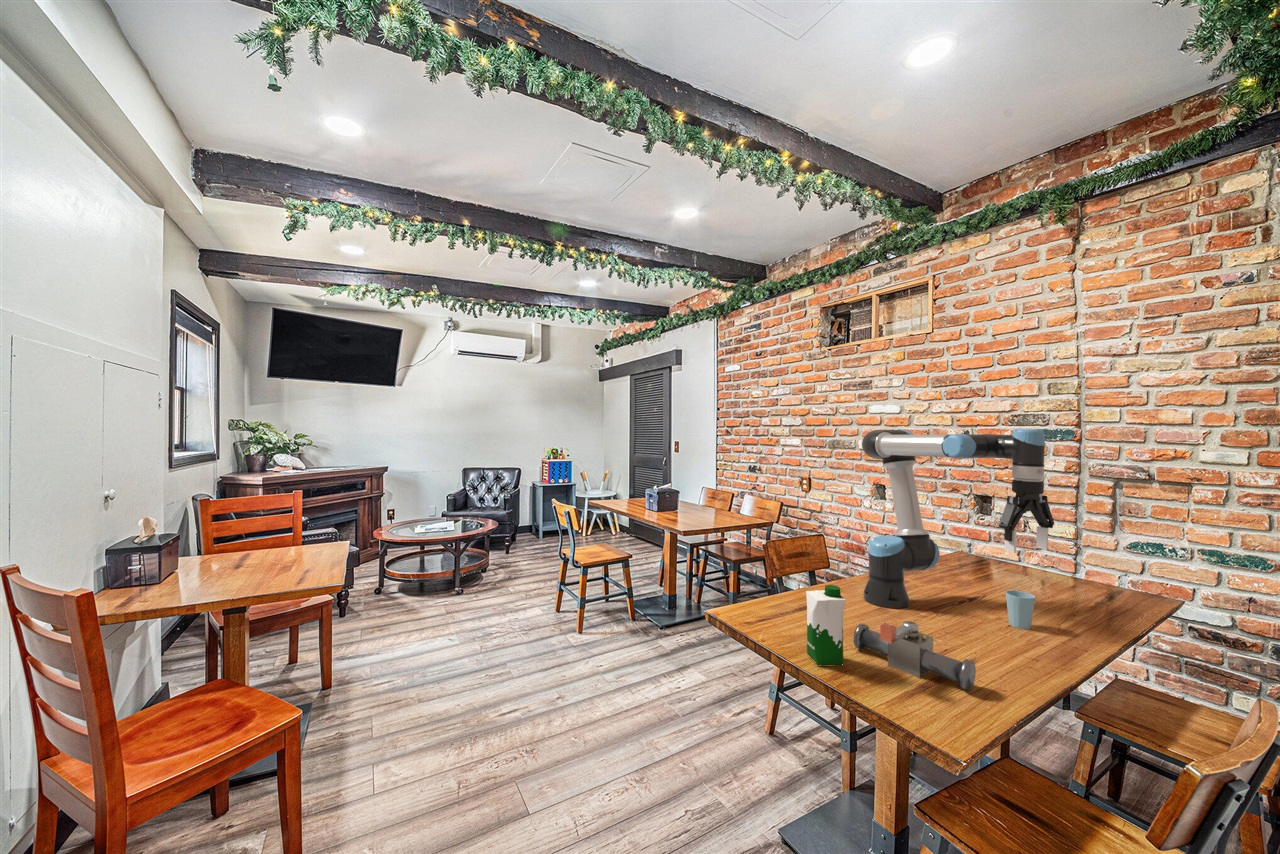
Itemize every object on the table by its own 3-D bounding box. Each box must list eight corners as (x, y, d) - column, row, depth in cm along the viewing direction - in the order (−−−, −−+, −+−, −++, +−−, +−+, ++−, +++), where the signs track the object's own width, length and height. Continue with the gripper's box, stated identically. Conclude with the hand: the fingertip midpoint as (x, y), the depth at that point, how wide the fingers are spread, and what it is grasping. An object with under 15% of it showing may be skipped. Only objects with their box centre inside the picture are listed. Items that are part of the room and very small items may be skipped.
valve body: (852, 651, 138) (852, 617, 138) (866, 644, 142) (866, 611, 142) (963, 695, 115) (964, 654, 115) (976, 684, 120) (976, 645, 120)
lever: (906, 626, 131) (906, 611, 131) (920, 631, 128) (920, 615, 128) (878, 641, 122) (878, 624, 122) (893, 646, 119) (893, 629, 119)
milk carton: (848, 667, 128) (849, 592, 128) (815, 668, 128) (816, 593, 128) (832, 652, 137) (833, 582, 137) (802, 653, 136) (802, 582, 136)
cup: (1040, 628, 155) (1040, 596, 155) (1026, 632, 152) (1026, 599, 152) (1014, 619, 162) (1014, 589, 162) (1000, 623, 159) (1000, 592, 159)
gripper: (1011, 482, 137) (1009, 556, 137) (1070, 480, 145) (1068, 550, 145) (985, 479, 144) (983, 549, 145) (1042, 477, 152) (1041, 544, 152)
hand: (1026, 550), depth 145 cm, fingers open, 13 cm apart
